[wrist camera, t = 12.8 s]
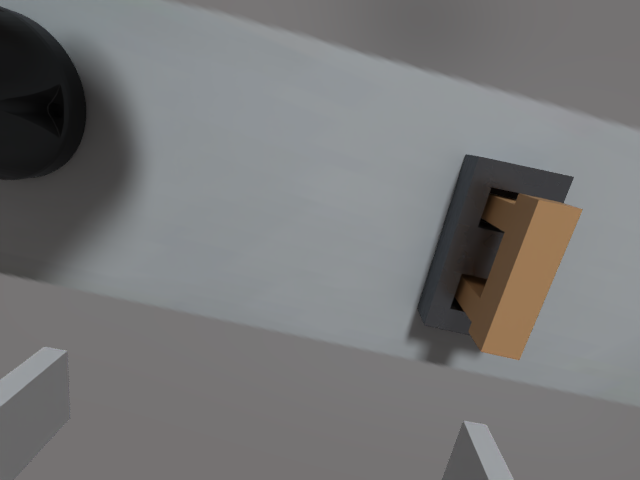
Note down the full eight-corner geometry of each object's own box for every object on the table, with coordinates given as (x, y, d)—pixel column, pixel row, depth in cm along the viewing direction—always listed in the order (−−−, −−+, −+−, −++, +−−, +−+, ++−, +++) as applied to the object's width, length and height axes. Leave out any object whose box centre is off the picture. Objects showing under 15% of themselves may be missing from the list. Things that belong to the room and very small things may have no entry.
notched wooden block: (474, 302, 38) (519, 360, 28) (446, 296, 38) (480, 351, 28) (516, 188, 34) (582, 209, 25) (484, 181, 34) (539, 199, 25)
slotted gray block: (492, 324, 38) (506, 343, 35) (417, 308, 38) (424, 325, 35) (551, 172, 34) (573, 177, 30) (465, 154, 34) (479, 156, 30)
